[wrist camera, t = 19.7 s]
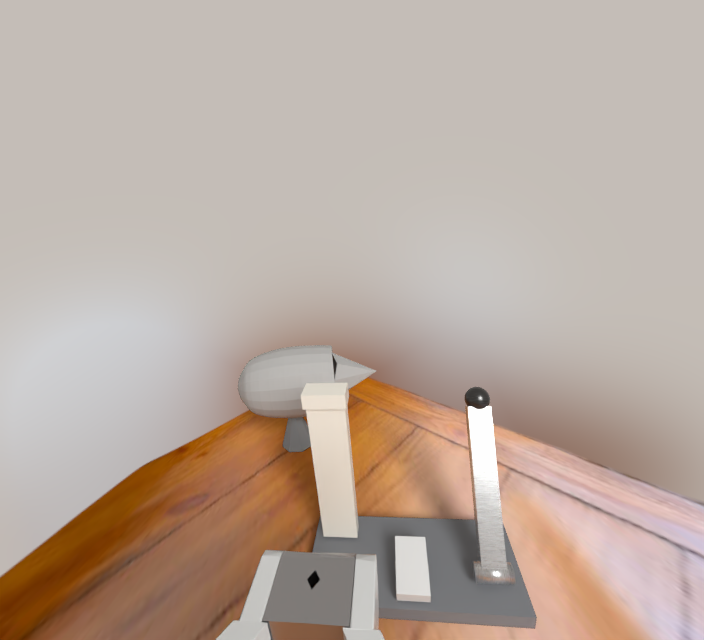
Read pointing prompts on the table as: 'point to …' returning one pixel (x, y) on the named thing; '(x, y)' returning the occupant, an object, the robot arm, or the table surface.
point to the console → (437, 572)
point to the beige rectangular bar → (332, 456)
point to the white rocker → (412, 569)
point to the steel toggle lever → (486, 493)
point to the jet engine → (293, 385)
